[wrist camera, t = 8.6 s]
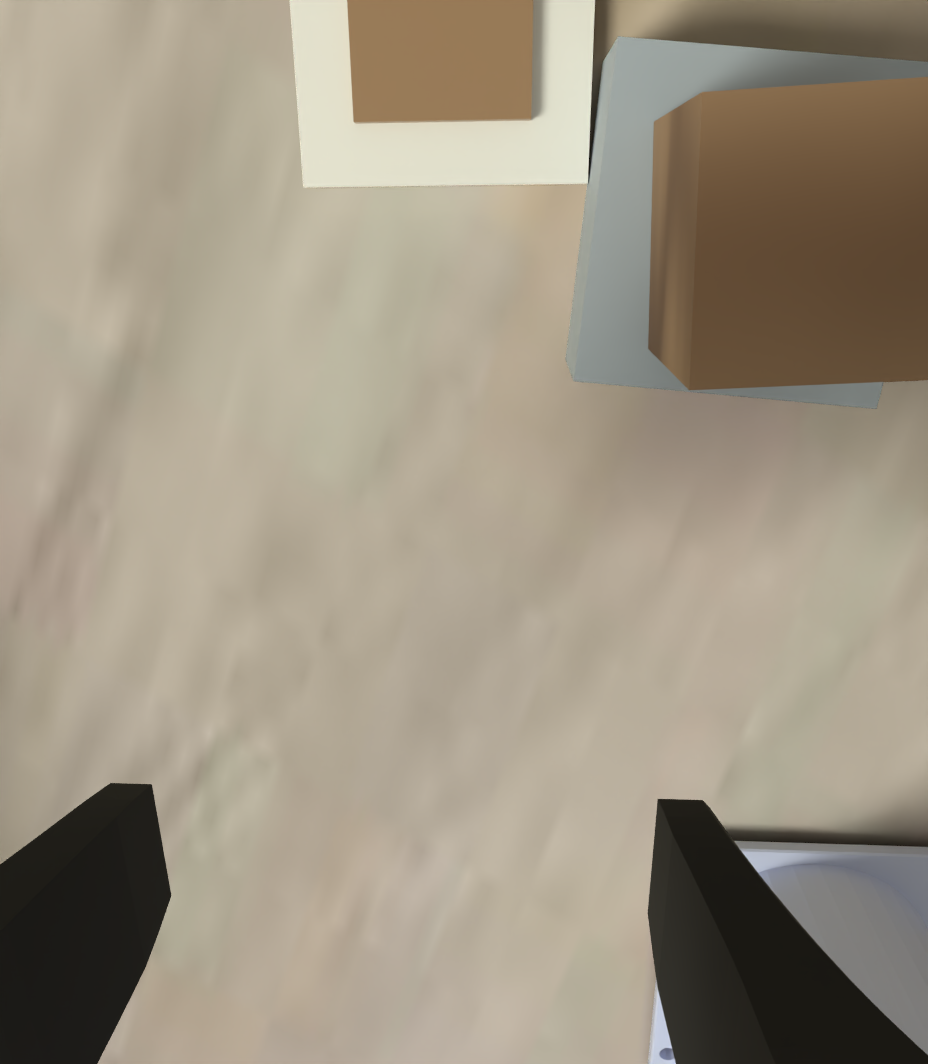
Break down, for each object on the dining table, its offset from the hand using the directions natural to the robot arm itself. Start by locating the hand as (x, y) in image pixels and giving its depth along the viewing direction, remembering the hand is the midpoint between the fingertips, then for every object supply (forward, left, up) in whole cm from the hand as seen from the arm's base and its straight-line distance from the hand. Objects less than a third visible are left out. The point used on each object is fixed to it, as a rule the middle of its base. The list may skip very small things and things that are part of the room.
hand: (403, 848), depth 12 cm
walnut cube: (+8, -6, -7) cm, 12 cm away
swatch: (+12, 0, -10) cm, 16 cm away
